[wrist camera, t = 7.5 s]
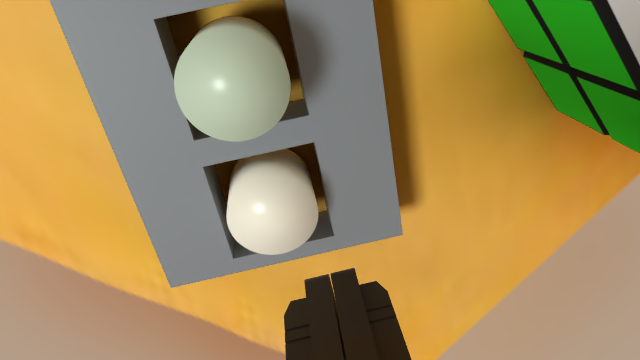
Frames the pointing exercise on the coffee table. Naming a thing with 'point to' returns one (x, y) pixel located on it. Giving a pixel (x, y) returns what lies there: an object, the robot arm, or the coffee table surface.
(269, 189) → the button cream
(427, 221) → the coffee table surface
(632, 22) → the puzzle cube
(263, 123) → the button sage
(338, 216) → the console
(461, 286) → the coffee table surface
